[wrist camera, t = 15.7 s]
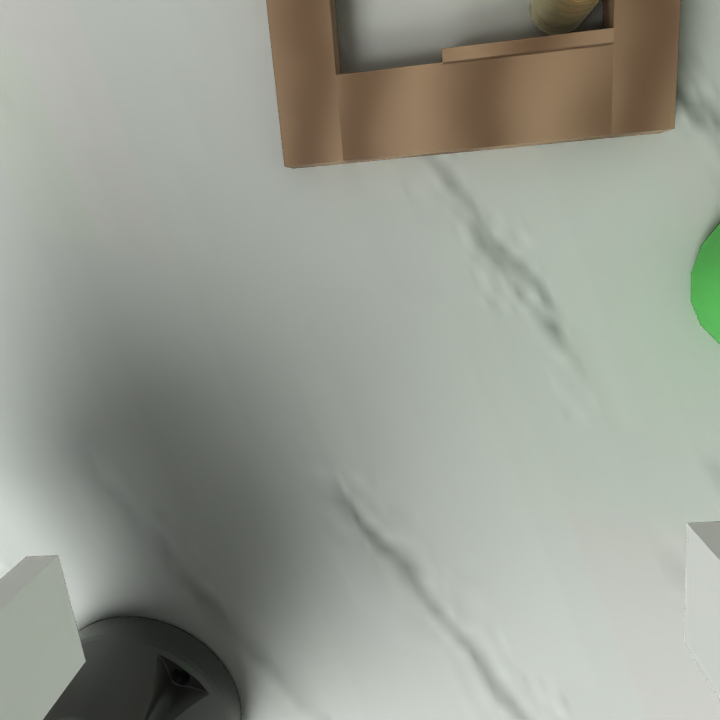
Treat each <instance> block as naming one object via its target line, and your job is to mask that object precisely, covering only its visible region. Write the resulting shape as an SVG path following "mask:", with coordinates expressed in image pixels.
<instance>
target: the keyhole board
mask: <svg viewBox="0 0 720 720" xmlns="http://www.w3.org/2000/svg"><path fill="white" fill-rule="evenodd" d="M266 3H267V12H268V21H269V30H270V39H271V48H272V57H273V67H274V76H275V85H276V94H277V103H278V112H279V121H280V130H281V139H282V148H283V157H284V166H285V167H289V168H303V167H314V166H324V165H334V164H344V163H355V162H365V161H375V160H386V159H396V158H406V157H417V156H427V155H437V154H448V153H458V152H468V151H479V150H489V149H499V148H510V147H520V146H530V145H540V144H551V143H561V142H571V141H582V140H592V139H602V138H613V137H623V136H633V135H644V134H654V133H661V132H664V131H668V130H671V129H674V128H675V108H676V88H677V68H678V47H679V27H680V7H681V0H603V29H600V30H591V31H583V32H575V33H567V34H559V35H550V36H542V37H534V38H526V39H517V40H509V41H501V42H493V43H485V44H476V45H468V46H460V47H452V48H443V49H442V62H440V63H432V64H423V65H415V66H407V67H398V68H390V69H381V70H373V71H364V72H356V73H348V74H341V69H340V57H339V45H338V33H337V21H336V9H335V0H266Z"/></svg>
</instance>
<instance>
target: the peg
mask: <svg viewBox="0 0 720 720" xmlns="http://www.w3.org/2000/svg"><path fill="white" fill-rule="evenodd" d="M599 1H600V0H530V14H531V18H532V20H533V22H534V24H535V25H536V27H537V28H538V29H539V30H541V31H542V32H544V33H545V34H548V35H559V34H567V33H570V32H572V31H573V30H575V29H576V28H577V27H578V26H579V25H580V24H581V23H582V22H583V20H584V19H585V18H586V17H587V16H588V14H589V13H590V12H591V11H592V10H593V8H594V7H595V6H596V5H597V3H598V2H599Z"/></svg>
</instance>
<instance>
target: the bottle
mask: <svg viewBox="0 0 720 720" xmlns="http://www.w3.org/2000/svg"><path fill="white" fill-rule="evenodd" d="M691 302H692V305H693V307H694V310H695V312H696V315H697V317H698V320H699V322H700V325H701V326H702V327H703V328H704V329H705V330H706V331H707V332H708V333H709V334H710V335H711V336H712V337H713V338H714V339H715V340H716V341H717V342H718V343H719V344H720V224H719V225H718V226H717V227H716V229H715V230H714V231H713V232H712V233H711V235H710V236H709V237H708V238H707V240H706V241H705V242H704V243H703V244H702V246H701V249H700V251H699V254H698V256H697V259H696V262H695V264H694V267H693V269H692V272H691Z"/></svg>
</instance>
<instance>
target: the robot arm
mask: <svg viewBox="0 0 720 720" xmlns="http://www.w3.org/2000/svg"><path fill="white" fill-rule="evenodd" d="M684 645H685V646H686V648H687V649H688V651H689V653H690V654H691V656H692V657H693V659H694V661H695V662H696V664H697V665H698V667H699V669H700V670H701V672H702V673H703V675H704V677H705V678H706V680H707V681H708V683H709V684H710V686H711V688H712V689H713V691H714V692H715V694H716V696H717V697H718V699H719V700H720V521H715V522H696V523H687V534H686V581H685V629H684ZM0 720H241V707H240V700H239V696H238V693H237V690H236V687H235V684H234V682H233V680H232V678H231V676H230V675H229V673H228V671H227V670H226V668H225V667H224V665H223V664H222V663H221V662H220V660H219V659H218V658H217V657H216V656H215V655H214V654H213V653H212V652H211V651H210V650H209V649H208V648H207V647H206V646H205V645H203V644H202V643H201V642H199V641H198V640H197V639H195V638H194V637H192V636H191V635H189V634H187V633H186V632H184V631H182V630H180V629H178V628H176V627H173V626H171V625H168V624H166V623H162V622H159V621H156V620H151V619H146V618H139V617H116V618H110V619H105V620H101V621H98V622H95V623H93V624H91V625H89V626H87V627H85V628H83V629H82V630H80V631H79V632H78V630H77V626H76V622H75V618H74V614H73V610H72V606H71V602H70V599H69V595H68V591H67V587H66V583H65V579H64V575H63V571H62V568H61V564H60V560H59V556H58V555H50V556H30V557H25V558H24V559H23V560H22V561H21V562H20V563H18V564H17V565H16V566H15V567H14V568H13V569H12V570H10V571H9V572H8V573H7V574H6V575H5V576H4V577H3V578H1V579H0Z"/></svg>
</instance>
